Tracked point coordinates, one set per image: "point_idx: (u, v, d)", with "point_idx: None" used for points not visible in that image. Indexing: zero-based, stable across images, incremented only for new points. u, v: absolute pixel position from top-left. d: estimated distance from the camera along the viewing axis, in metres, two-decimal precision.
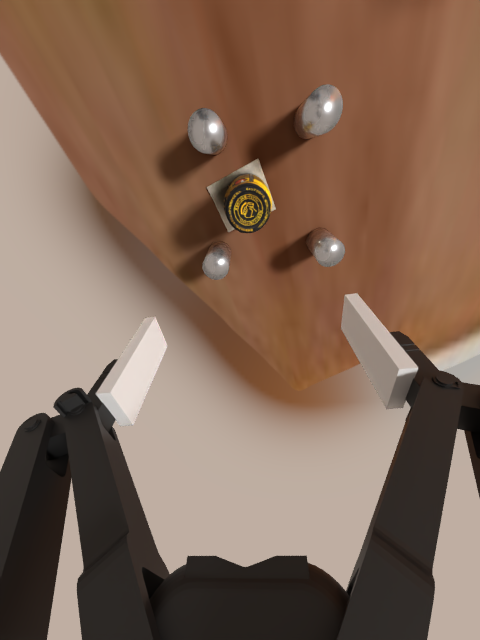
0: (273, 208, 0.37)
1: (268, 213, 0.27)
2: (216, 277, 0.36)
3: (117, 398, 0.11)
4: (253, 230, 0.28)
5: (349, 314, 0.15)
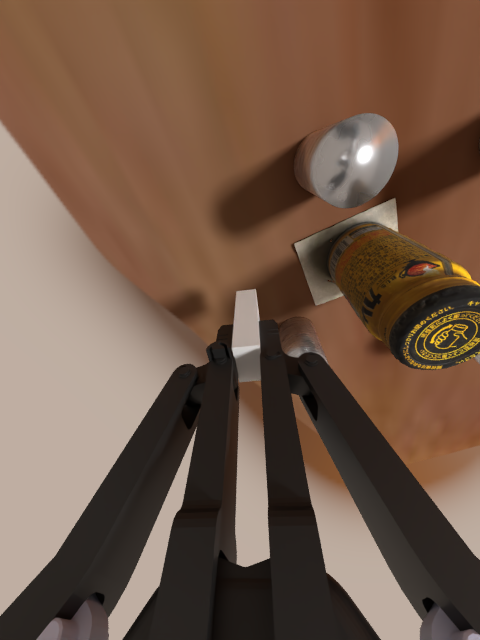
0: None
1: None
2: None
3: None
4: (442, 367, 0.13)
5: None
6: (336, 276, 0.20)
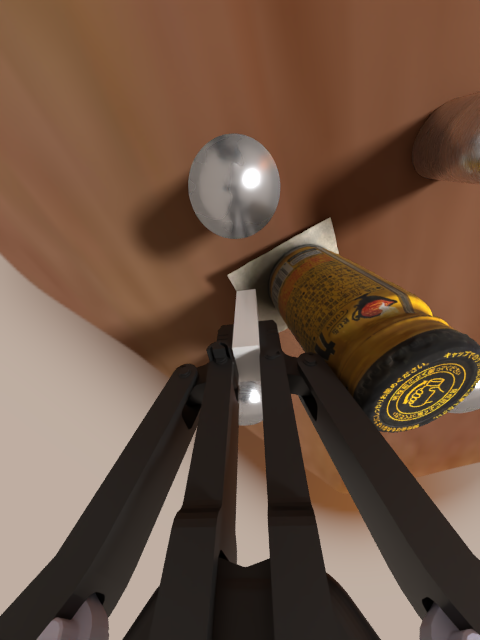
0: None
1: (470, 390, 0.10)
2: (244, 422, 0.20)
3: None
4: (419, 425, 0.10)
5: None
6: (280, 310, 0.16)
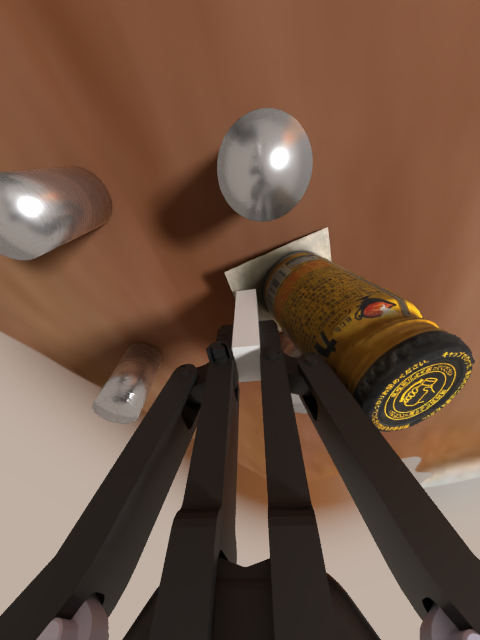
0: None
1: (456, 393, 0.10)
2: (121, 421, 0.22)
3: None
4: (409, 426, 0.11)
5: None
6: (275, 311, 0.17)
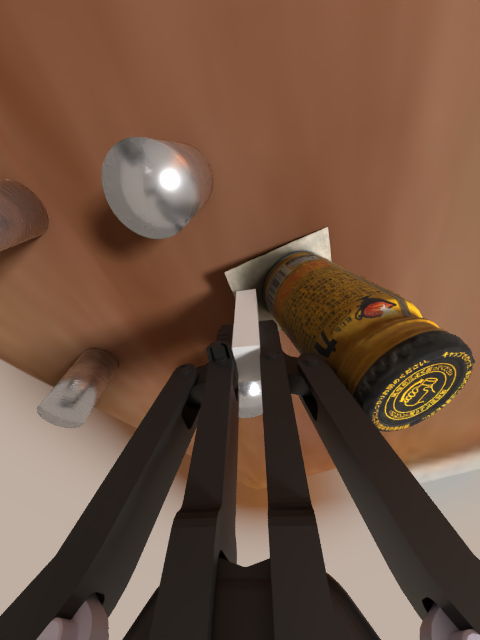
0: None
1: (456, 393, 0.10)
2: (68, 425, 0.22)
3: None
4: (409, 426, 0.11)
5: None
6: (275, 311, 0.17)
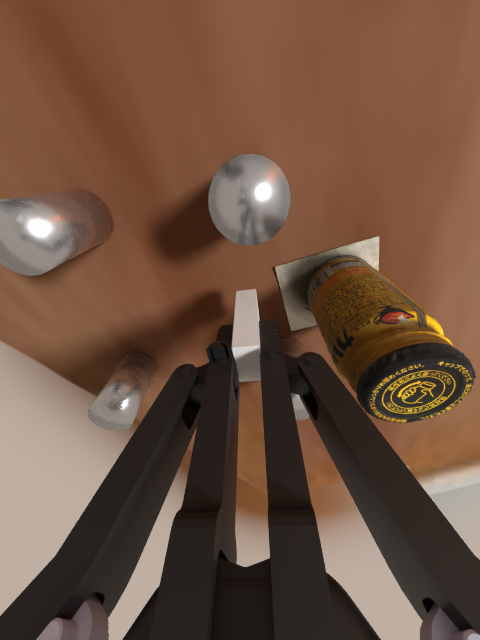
0: None
1: (457, 402, 0.12)
2: (115, 428, 0.22)
3: None
4: (407, 421, 0.13)
5: None
6: (313, 306, 0.19)
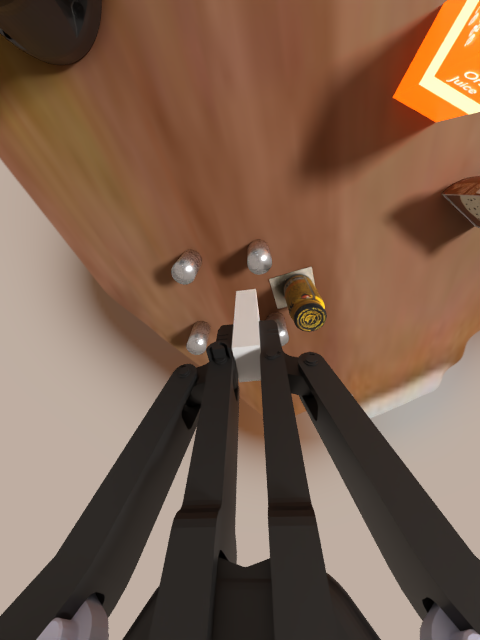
0: None
1: (324, 322, 0.38)
2: (197, 353, 0.49)
3: None
4: (311, 330, 0.39)
5: None
6: (285, 295, 0.45)
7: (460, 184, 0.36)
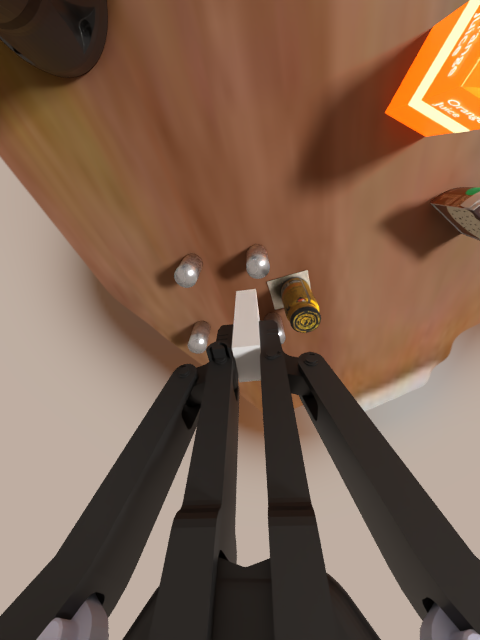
0: None
1: (318, 324, 0.41)
2: (197, 351, 0.51)
3: None
4: (306, 332, 0.42)
5: None
6: (282, 298, 0.48)
7: (447, 194, 0.38)
